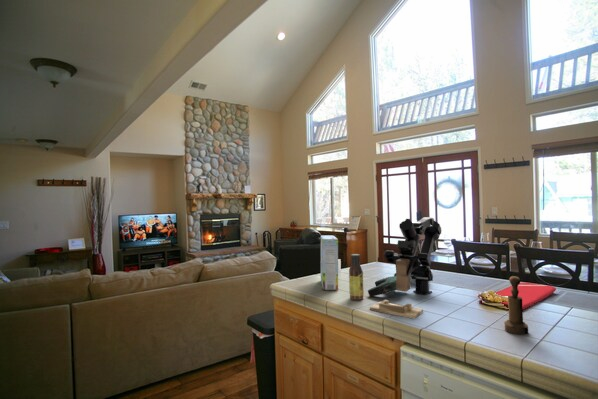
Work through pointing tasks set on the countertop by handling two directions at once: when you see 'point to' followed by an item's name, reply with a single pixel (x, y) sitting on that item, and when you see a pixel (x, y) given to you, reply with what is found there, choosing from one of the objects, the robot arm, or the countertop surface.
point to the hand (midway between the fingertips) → (402, 274)
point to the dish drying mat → (528, 293)
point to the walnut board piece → (402, 275)
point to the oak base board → (397, 309)
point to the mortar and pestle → (515, 310)
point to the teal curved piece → (384, 286)
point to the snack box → (329, 262)
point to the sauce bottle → (356, 278)
